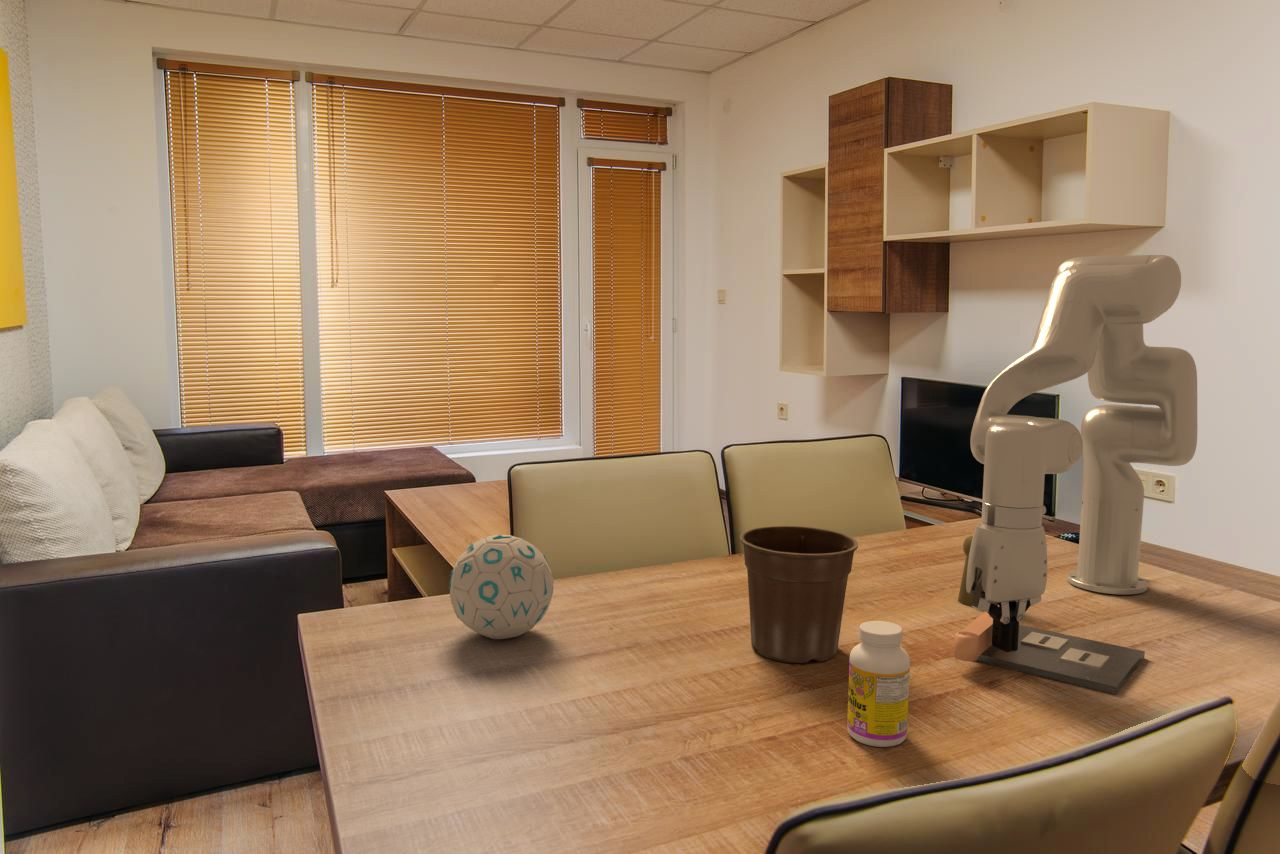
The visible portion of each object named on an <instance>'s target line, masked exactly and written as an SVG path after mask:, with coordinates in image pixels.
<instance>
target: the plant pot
mask: <svg viewBox="0 0 1280 854" xmlns="http://www.w3.org/2000/svg"><path fill="white" fill-rule="evenodd" d="M739 540H740V542H741V544H742V545H743V553H744V554H743V557H744V566H745V567H746V570H747V571H746V572H747V586H748V588H747V589H748V603H749V605H748V606H749V619H750V621H749V622H750V623H749V624H750V638H751V641H750V642H751V644H750V645H751V648H752V649H754V650H756V651H757V653H758V654H759V655H761V656H763V657H765V658H768V659H770V660H774V661H778V662H783V663H792V664H807V663H808V662H810V661H813V660H814V661H817V662H819V663H820V662H824V661H827V660H828V661H829V659H832V658H833V657H835V656H836V655H837V653H838V649H839V641H840V636H841V635H840V634H841V627H842V626H841V625H842V619H843V615H844V614H843V612H844V605H845V599H846V591H847V584H848V579H849V575H850V574H851V572H852V566H853V560H854V554H855V551H857V549H858V548H859V542H858V541H857V539H855V538H854V537H852V536H851V535H849V534H846V533H843V532H839V531H836V530H831V529H826V528H822V527H821V528H820V527H814V526H813V527H811V526H803V525H802V526H801V525H773V526H762V527H754V528H751V529H748V530H746V531H744V532H742V533H741V535H740V536H739Z"/></svg>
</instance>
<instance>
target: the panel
mask: <svg viewBox="0 0 1280 854" xmlns="http://www.w3.org/2000/svg"><path fill="white" fill-rule="evenodd" d="M1145 653H1146V651H1144V650H1140V649H1136V648H1131V647H1126V646H1122V645H1118V644H1117V645H1116V644H1113V643H1107V642H1102V641H1098V640H1093V639H1088V638H1084V637H1079V636H1076V635H1075V636H1073V635H1069V634H1065V633H1062V632H1061V633H1059V632H1056V631H1050V630H1047V629H1042V628H1037V627H1032V626H1028V625H1023V624H1019V634H1018V650H1017V651H1011V652H1005V651H1003V650H1001V649H999V648H997V647H995V646H993V645H991V646H990V647H989V648H987V649H986V650H985V651H984V652H983V653H982V654H981V655H980V656H978V659H977V660H976V661H975V662H981V663H984V664H988V665H992V666H997V667H1001V668H1005V669H1010V670H1013V671H1016V670H1017V671H1018V672H1021V673H1026V674H1029V675H1034V676H1037V675H1038V676H1037V677H1041V676H1042V678H1045V679H1049V678H1050V680H1055V681H1059V682H1062V681H1063V682H1062V683H1066V682H1067V684H1070V683H1071V685H1074V684H1075V686H1078V685H1079V687H1083V688H1087V689H1091V690H1095V691H1100V692H1103V693H1106V694H1107V693H1108V694H1110V695H1111V694H1112V695H1116V694H1117V693H1118V692H1119V691H1120V689H1121V688H1122V686H1123V685H1124V684H1125V683H1126V681H1127V680H1129V678H1130V677H1131V676H1132V674H1133V673H1134V672H1135V671H1136V670H1137V668H1138V667H1139V665H1140V664H1141V663H1142V662H1143V661H1144V659H1145V657H1146V656H1145Z"/></svg>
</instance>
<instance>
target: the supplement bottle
mask: <svg viewBox="0 0 1280 854" xmlns="http://www.w3.org/2000/svg"><path fill="white" fill-rule="evenodd" d="M858 633H859V634H858V637H859V640H860V643H858V644H856V645H855V646H854V647H853V648H852V649H851V650H850V654H849V667H848V668H849V669H848V670H849V671H848V675H849V676H848V689H847V690H848V693H847V694H848V697H847V718H846V721H847V723H846V725H847V726H846V729H847V732H848V734H849V736H850V737H851V738H852V739H854V740H855V741H857V742H858V743H861V744H862V745H863V744H864V745H866V746H869V747H877V748H888V747H895V746H897V745H900V744H902V743H903V742H905V740H906V738H907V735H908V721H909V697H910V695H909V694H910V678H911V677H910V676H911V675H910V674H911V658H910V656H909V653H908V652H907V651H906V650H905V649H904V648H903V647H901V644H902V641H903V628H902V627H901V626H900V625H898V624H896V623H893V622H891V621H883V620H870V621H864V622H862V623H860V625H859V632H858Z"/></svg>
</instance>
